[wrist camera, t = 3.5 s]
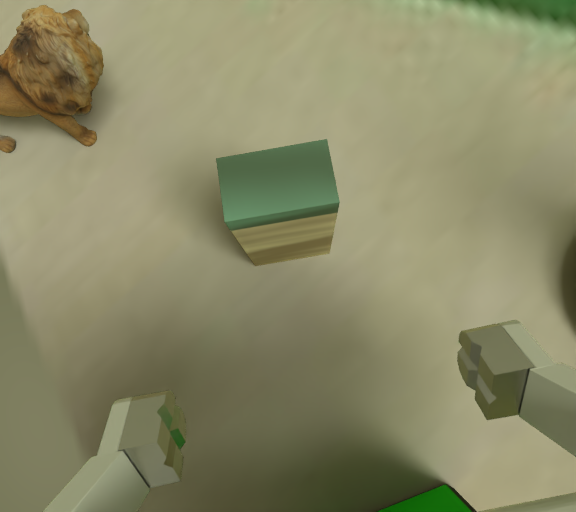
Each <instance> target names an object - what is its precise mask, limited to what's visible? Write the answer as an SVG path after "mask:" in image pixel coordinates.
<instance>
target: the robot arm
mask: <svg viewBox="0 0 576 512" xmlns="http://www.w3.org/2000/svg"><path fill="white" fill-rule="evenodd" d="M459 343H460V344H461V346H462V348H461V349H460V350H459V351H458V356H457V362H458V366H459V371H460V373H461V376H462V378H463V380H464V382H465V383H466V385H467V386H468V387H470V388H472V389H473V390H475V391H476V392H475V401H476V402H477V404H478V406H479V407H480V409H481V411H482V413H483V414H484V416H485V418H486V419H487V420H491V419H497V418H503V417H509V416H515V415H519V417H521V418H522V419H523V420H525V421H526V422H528V423H529V424H530V425H532V426H533V427H535V428H536V429H537V430H539V431H540V432H542V433H543V434H544V435H546V436H547V437H549V438H550V439H551V440H553V441H554V442H556V443H557V444H558V445H560V446H561V447H563V448H564V449H565V450H567V451H568V452H570V453H571V454H572V455H574V456H575V457H576V369H574V368H572V367H570V366H567V365H565V364H563V363H558V364H556V363H555V362H554V361H553V360H552V358H551V357H550V356H549V355H548V354H547V353H546V351H545V350H544V349H543V348H542V347H541V346H540V345H539V343H538V342H537V341H536V340H535V339H534V338H533V336H532V335H531V334H530V333H529V332H528V331H527V330H526V328H525V327H524V326H523V325H522V324H521V323H520V322H519V321H517V320H512V321H507V322H502V323H498V324H492V325H487V326H482V327H478V328H473V329H468V330H464V331H461V332H460V334H459ZM175 399H176V398H175V396H174V394H173V392H172V391H171V390H169V391H162V392H157V393H151V394H145V395H139V396H134V397H129V398H124V399H118V400H116V401H115V402H114V404H113V405H112V407H111V411H110V414H109V417H108V420H107V424H106V427H105V430H104V433H103V437H102V440H101V443H100V446H99V450H98V453H97V456H93V457H91V458H90V459H89V460H88V461H87V462H86V463H85V464H84V466H83V467H82V468H81V469H80V470H79V471H78V472H77V473H76V475H75V476H74V477H73V478H72V479H71V480H70V481H69V482H68V484H67V485H66V486H65V487H64V488H63V489H62V490H61V492H60V493H59V494H58V495H57V496H56V497H55V498H54V499H53V500H52V502H51V503H50V504H49V505H48V506H47V507H46V508H45V509H44V511H43V512H137V511H138V509H139V508H140V506H141V504H142V503H143V501H144V499H145V498H146V496H147V495H148V493H149V491H150V489H149V488H153V487H157V486H162V485H166V484H170V483H175V482H179V481H181V475H182V467H183V458H184V457H183V455H182V453H181V452H180V449H181V447H182V446H183V444H184V443H185V441H186V421H185V417H184V413H183V411H182V409H181V408H180V407H178V406H176V405H175ZM479 512H576V492H575V493H570V494H565V495H560V496H555V497H550V498H545V499H540V500H535V501H530V502H524V503H519V504H514V505H509V506H504V507H499V508H494V509H489V510H484V511H479Z"/></svg>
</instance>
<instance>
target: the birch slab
mask: <svg viewBox="0 0 576 512" xmlns="http://www.w3.org/2000/svg"><path fill="white" fill-rule="evenodd" d="M216 161H217V169H218V176H219V184H220V191H221V199H222V206H223V214H224V221H225V223H226V225H227V226H228V228H229V229H230V230H231V232H232V233H233V235H234V236H235V238H236V239H237V240H238V242H239V243H240V245H241V246H242V248H243V249H244V251H245V252H246V253H247V255H248V256H249V258H250V259H251V261H252V262H253V263H254V265H255V266H259V265H265V264H271V263H277V262H282V261H288V260H294V259H300V258H306V257H312V256H318V255H323V254H329V253H330V248H331V243H332V238H333V233H334V228H335V223H336V218H337V213H338V208H339V197H338V192H337V187H336V182H335V177H334V172H333V167H332V162H331V157H330V152H329V147H328V142H327V139H325V140H319V141H313V142H307V143H302V144H296V145H290V146H285V147H279V148H273V149H268V150H262V151H256V152H251V153H245V154H239V155H234V156H228V157H222V158H216Z"/></svg>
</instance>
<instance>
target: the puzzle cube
mask: <svg viewBox="0 0 576 512" xmlns="http://www.w3.org/2000/svg"><path fill="white" fill-rule="evenodd" d="M377 512H477V511H476V510H475V509H474V508H473V507H472V506H471V505H470V504H469V503H468V502H467V501H466V500H465V499H464V498H463V497H462V496H461V495H460V494H459V493H458V492H457V491H456V490H455V489H454V488H452V487H450V486H448V485H446V484H445V485H442V486H440V487H437V488H435V489H432V490H430V491H427V492H425V493H422V494H420V495H417V496H415V497H412V498H410V499H407V500H405V501H402V502H400V503H397V504H395V505H392V506H390V507H387V508H385V509H382V510H379V511H377Z"/></svg>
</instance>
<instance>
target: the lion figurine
mask: <svg viewBox="0 0 576 512" xmlns="http://www.w3.org/2000/svg"><path fill="white" fill-rule="evenodd" d="M22 18H23V20H22V21H21V24H20V26H18V27H17V29H16V30H17V34H16V36H15V37H14V38H13V39H12V40H11V43H10V44H9V46H8V48H7V49H6V50H5V52H4V54H2V55H0V114H1V115H5V116H14V117H26V116H32V115H37V114H40V115H41V116H42V117H44V118H45V119H47V120H49V121H51V122H52V123H54V124H56V125H57V126H59V127H60V128H62V129H63V130H65V131H66V132H68V133H69V134H70V135H72V136H73V137H74V138H75V139H77V140H78V141H79V142H80V143H82V144H83V145H85V146H91V145H93V144H94V143H95V142H96V140H97V136H96V132H94V131H92V130H88V129H87V128H86V127H84V126H81V125H79V124H78V123H77V122H76V120H75V119H74V118H73V117H72V116H71V115H74V114H77V115H82V114H87V113H88V112H90V110H91V107H92V106H91V104H90V103H91V102H92V98H91V96H92V91H93V89H94V88H95V87H96V85H97V84H98V80H99V77H100V76H101V75H102V70H103V67H104V65H103V55H102V51H101V48H100V47H98V46H97V45H96V44H95V43H94V42H93V41H92V40H91V38H90V36H89V34H88V32H89V25H88V23H87V21H86V19H85V18H84V17H83V16H82V13H81V12H80V11H78V10H75V9H72V10H70V11H68V12H66V13H63V14H61V13H57V12H55V11H54V9H52V8H49V7H48V6H46V5H41V6H39V7H38V8H31V9H28V10H26V11H25V12H24V13H22ZM15 144H16V142H15V140H14V139H13V138H11V137H8V136H1V135H0V150H2V151H4V152H6V153H9V152H12V151H13V150H14V149H15Z"/></svg>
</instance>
